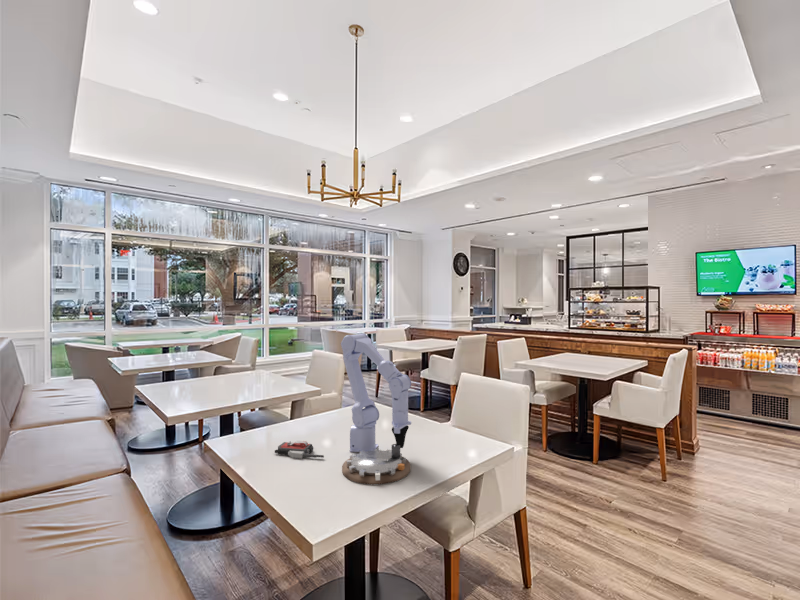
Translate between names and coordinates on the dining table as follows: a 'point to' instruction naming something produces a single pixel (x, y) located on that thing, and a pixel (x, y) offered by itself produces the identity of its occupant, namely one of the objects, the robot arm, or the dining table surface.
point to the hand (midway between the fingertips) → (400, 447)
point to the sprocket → (377, 462)
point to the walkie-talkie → (296, 449)
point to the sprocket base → (376, 475)
